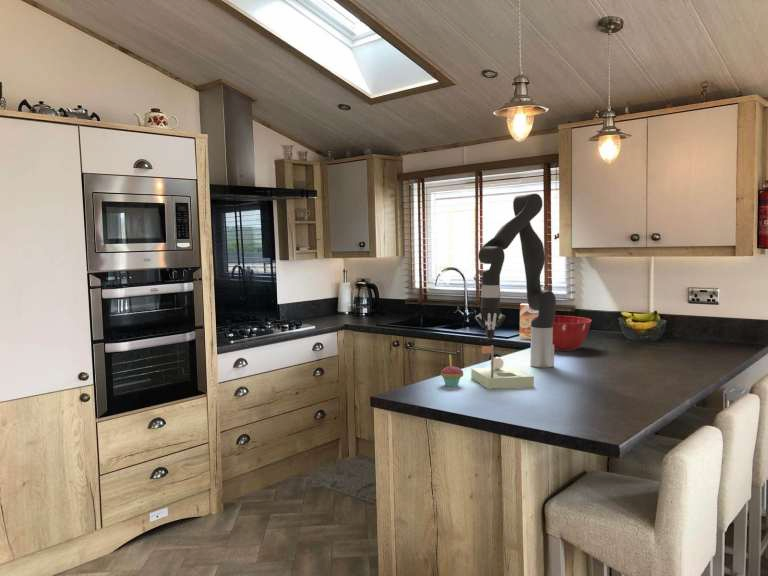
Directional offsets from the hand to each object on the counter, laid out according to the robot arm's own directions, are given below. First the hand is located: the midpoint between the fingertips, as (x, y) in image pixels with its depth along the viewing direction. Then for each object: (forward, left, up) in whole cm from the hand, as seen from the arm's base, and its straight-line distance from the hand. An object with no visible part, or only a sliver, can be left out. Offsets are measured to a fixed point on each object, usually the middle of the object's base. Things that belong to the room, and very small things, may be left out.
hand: (489, 338), depth 253 cm
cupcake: (+20, +13, -15) cm, 28 cm away
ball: (0, +8, -9) cm, 12 cm away
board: (0, +13, -15) cm, 20 cm away
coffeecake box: (-58, -88, -15) cm, 106 cm away
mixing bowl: (-58, -54, -15) cm, 80 cm away
